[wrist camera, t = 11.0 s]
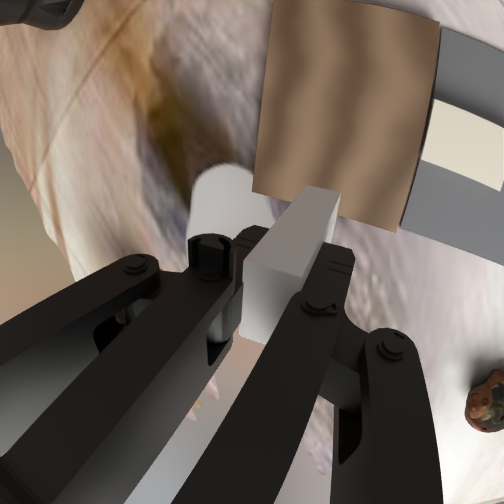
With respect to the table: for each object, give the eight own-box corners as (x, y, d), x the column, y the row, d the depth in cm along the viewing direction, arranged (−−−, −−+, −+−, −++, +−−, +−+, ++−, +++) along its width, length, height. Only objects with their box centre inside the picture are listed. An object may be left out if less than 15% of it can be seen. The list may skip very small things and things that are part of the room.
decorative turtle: (484, 350, 32) (496, 394, 25) (532, 378, 30) (543, 415, 23) (440, 390, 37) (443, 433, 30) (493, 412, 35) (498, 448, 29)
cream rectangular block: (418, 155, 26) (420, 159, 24) (431, 99, 23) (434, 98, 21) (494, 186, 24) (500, 191, 22) (509, 132, 20) (516, 134, 19)
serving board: (258, 186, 35) (251, 191, 34) (280, -1, 24) (274, -6, 22) (395, 225, 31) (395, 233, 29) (436, 26, 19) (439, 22, 18)
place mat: (399, 226, 31) (399, 228, 30) (441, 28, 19) (442, 27, 19) (509, 266, 26) (509, 268, 26) (561, 87, 15) (562, 87, 14)
